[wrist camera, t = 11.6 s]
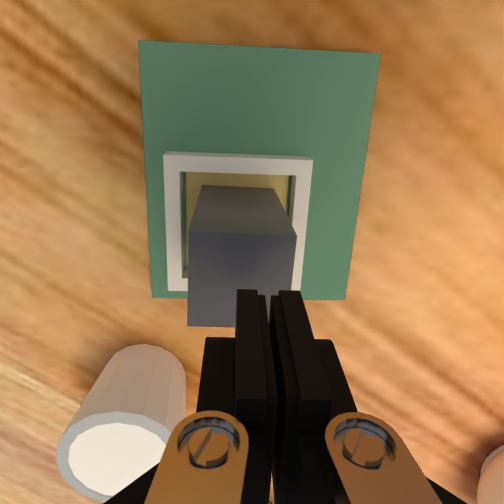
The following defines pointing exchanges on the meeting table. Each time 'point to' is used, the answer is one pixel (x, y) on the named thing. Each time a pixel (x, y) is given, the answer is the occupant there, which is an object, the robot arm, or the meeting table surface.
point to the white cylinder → (123, 421)
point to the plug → (236, 251)
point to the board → (256, 148)
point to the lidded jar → (492, 478)
